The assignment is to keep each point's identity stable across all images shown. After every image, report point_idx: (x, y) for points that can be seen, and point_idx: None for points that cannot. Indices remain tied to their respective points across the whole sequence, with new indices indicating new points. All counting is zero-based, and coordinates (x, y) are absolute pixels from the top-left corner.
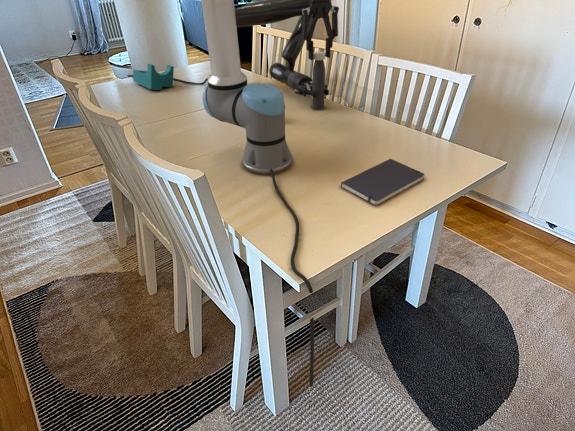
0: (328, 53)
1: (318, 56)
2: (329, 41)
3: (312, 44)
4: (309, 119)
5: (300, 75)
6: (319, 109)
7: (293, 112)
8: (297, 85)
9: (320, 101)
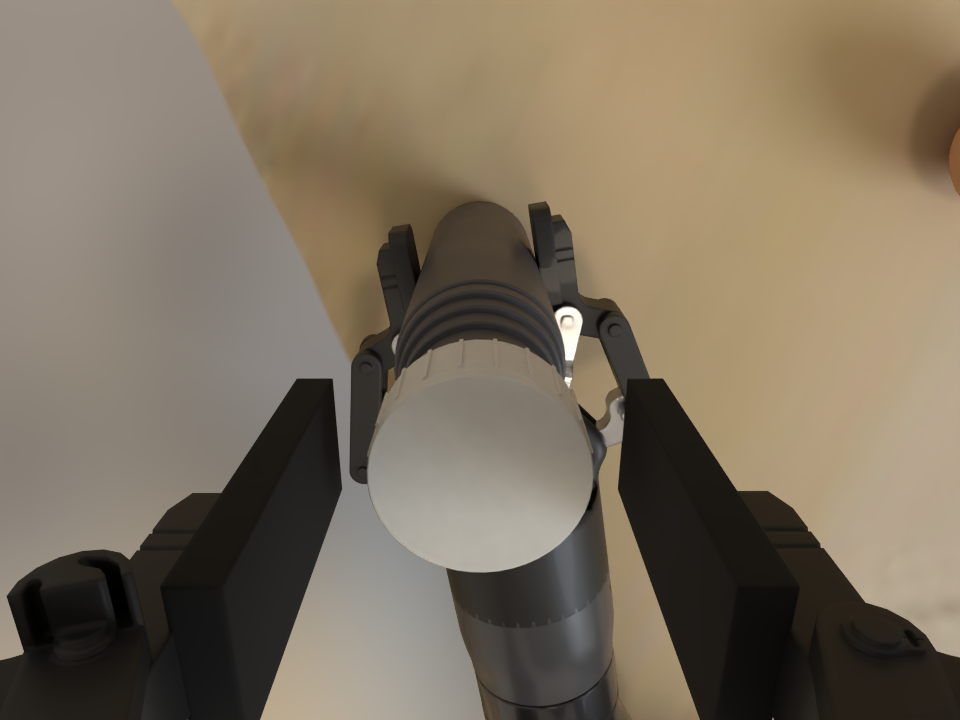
0: (313, 413)
1: (540, 377)
2: (220, 553)
3: (736, 533)
4: (660, 33)
5: (549, 588)
6: (490, 203)
7: (704, 240)
8: (599, 493)
9: (482, 213)
